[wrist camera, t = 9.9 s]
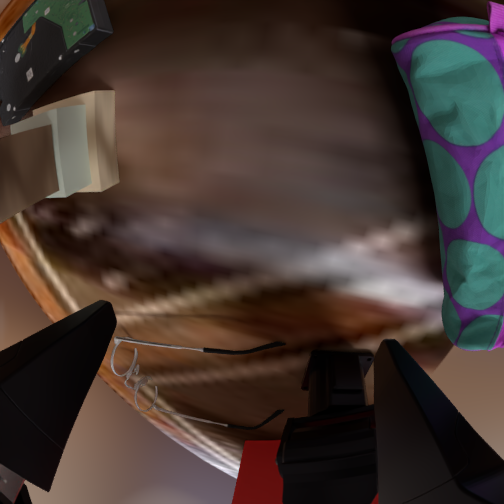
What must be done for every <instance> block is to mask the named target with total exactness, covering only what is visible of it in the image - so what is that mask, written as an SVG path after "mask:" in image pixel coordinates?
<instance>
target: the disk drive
mask: <svg viewBox="0 0 504 504" xmlns="http://www.w3.org/2000/svg"><path fill="white" fill-rule="evenodd" d="M112 33H113V28H112V25H111V22H110V19H109V16H108V12H107V9H106V6H105V2H104V0H35V1H34V2H33V3H32V4H31V5H30V6H29V7H28V8H27V10H26V11H25V12H24V13H23V14H22V16H21V17H20V18H19V19H18V20H17V21H16V23H15V24H14V25H13V26H12V28H11V29H10V30H9V31H8V33H7V34H6V35H5V37H4V38H3V40H2V41H1V42H0V100H1V101H2V104H1V107H0V116H1V121H2V124H3V126H6V125H11V124H14V123H17V122H19V121H20V120H21V118H22V117H23V116H24V115H25V114H26V113H27V112H28V111H29V109H30V108H31V106H32V105H33V104H34V103H35V102H36V101H37V100H38V99H39V98H40V96H41V95H42V94H43V93H44V92H45V91H46V90H47V89H48V88H49V87H50V86H51V85H52V84H53V83H54V82H55V81H56V80H57V79H58V78H59V77H60V76H61V75H62V74H63V73H64V72H66V71H67V70H68V69H69V68H70V67H71V66H72V65H73V64H74V63H76V62H77V61H78V60H79V59H80V58H81V57H83V56H84V55H85V54H87V53H88V52H90V51H91V50H92V49H93V48H95V47H96V45H98V44H99V43H100V42H102V41H103V40H104V39H106V38H107V37H108V36H110V35H111V34H112Z"/></svg>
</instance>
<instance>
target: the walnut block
mask: <svg viewBox="0 0 504 504" xmlns="http://www.w3.org/2000/svg"><path fill="white" fill-rule="evenodd" d="M57 191H59V185H58V179H57V173H56V166H55V158H54V149H53V139H52V127H51V125H46V126H42V127H38V128H34V129H30V130H27V131H23V132H19V133H16V134H13V135H9V136H6V137H3V138H0V223H2V222H4V221H5V220H7V219H8V218H10V217H12V216H13V215H15V214H17V213H19V212H20V211H22V210H24V209H26V208H27V207H29V206H31V205H33V204H34V203H36V202H38V201H40V200H42V199H44V198H46V197H48V196H50V195H51V194H53V193H55V192H57Z"/></svg>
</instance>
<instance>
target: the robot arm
mask: <svg viewBox="0 0 504 504" xmlns="http://www.w3.org/2000/svg"><path fill="white" fill-rule="evenodd" d="M116 325H117V319H116V316H115V313H114V310H113V307H112V304H111V303H110V302H108V301H104V300H99V301H97V302H95V303H93V304H91V305H89V306H87V307H85V308H83V309H81V310H79V311H77V312H75V313H73V314H71V315H69V316H67V317H65V318H64V319H62V320H60V321H58V322H56V323H54V324H52V325H50V326H48V327H46V328H44V329H42V330H41V331H39V332H37V333H35V334H33V335H31V336H29V337H27V338H25V339H24V340H23V341H20V342H18V343H16V344H14V345H12V346H10V347H8V348H6V349H4V350H2V351H0V504H32V502H31V499H30V496H29V492H28V489H27V486H26V485H25V484H24V481H25V480H27V481H29V482H30V483H32V484H34V485H36V486H37V487H39V488H41V489H43V490H45V491H47V492H49V491H50V489H51V486H52V482H53V480H54V476H55V474H56V471H57V468H58V465H59V462H60V459H61V456H62V454H63V450H64V448H65V446H66V443H67V440H68V438H69V435H70V433H71V430H72V428H73V425H74V423H75V420H76V418H77V416H78V413H79V411H80V409H81V407H82V404H83V402H84V399H85V398H86V395H87V393H88V391H89V389H90V387H91V384H92V382H93V380H94V378H95V376H96V374H97V372H98V370H99V368H100V366H101V363H102V361H103V359H104V356H105V354H106V351H107V348H108V346H109V343H110V341H111V338H112V335H113V333H114V330H115V328H116ZM315 355H316V356H315ZM373 361H374V404H372V405H368V402H367V394H366V386H365V379H364V378H365V376H366V374H367V372H368V370H369V368H370V366H371V364H372V363H373ZM301 389H302V390H306V391H309V398H308V417H301V418H288V420H287V423H286V425H285V428H284V431H283V435H282V438H281V441H280V445H279V448H278V451H277V455H276V459H275V463H276V464H277V465H278V471H279V474H280V476H281V477H282V479H283V495H282V503H283V504H371V503H372V502H373V500H374V499H375V497H376V495H377V494H378V504H504V460H503V459H502V458H501V457H500V456H499V455H498V454H497V453H496V452H495V451H494V450H493V449H492V448H491V447H490V446H489V445H488V444H487V443H486V442H485V441H484V439H482V437H481V436H480V435H479V434H478V433H477V432H476V431H475V430H474V429H473V428H472V426H471V425H470V424H469V423H468V422H467V421H466V419H465V418H464V417H463V416H462V415H461V413H460V412H458V410H457V409H456V407H455V406H454V405H453V404H452V403H451V402H450V400H449V399H448V398H447V397H446V395H445V394H444V393H443V392H442V391H441V390H440V389H439V387H438V386H437V385H436V384H435V383H434V381H433V380H432V379H431V378H430V377H429V376H428V375H427V373H426V372H425V371H424V370H423V369H422V368H421V367H420V366H419V364H418V363H417V362H416V361H415V360H414V359H413V358H412V357H411V356H410V354H409V353H408V352H407V351H406V350H405V349H404V348H403V347H402V346H401V345H400V343H399V342H398V341H397V340H395V339H384V340H383V341H382V342H381V344H380V346H379V348H378V351H377V353H376V355H375V357H374V355H373V354H371V353H348V352H330V351H312V352H311V354H310V357H309V361H308V364H307V368H306V371H305V375H304V378H303V381H302V385H301Z"/></svg>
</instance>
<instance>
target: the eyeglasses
mask: <svg viewBox="0 0 504 504" xmlns="http://www.w3.org/2000/svg"><path fill="white" fill-rule="evenodd" d="M129 338H130V337H118V336H115V338H114V340H115V341H114V342H115V344H116V345H115V347H114V349H113V351H112V355H111V368H112V370H113V372H114V373H115V374H116V375H118V374H117V373H116V372H115V370H114V367H113V357H114V353H115V350H116V348H117V346H118V345H119V343H120V342H121V341H126V342H132V343H139V344H146V345H153V346H161V347H169V348H177V349H181V348H184V349H193V350H199V351H202V352H207V353H219V354H231V355H238V354H248V353H253V352H257V351H260V350H264V349H269V348H273V347H278V346H282V345H286V343H282V342H273V343H269V344H266V345H263V346H260V347H256V348H253V349H250V350H244V351H232V350H223V349H213V348H190V347H182V346H179V345H171V344H163V343H155V342H148V341H142V340H135V339H132V338H130V339H129ZM137 357H138V352H137V349H136V348H135V355H134V359H133V362H132V365H131V367H130V368H129V370H128V371H127V372H126V373H124V374H122V375H118V376H125V375H127V376H126V378H127V379H126V381H127V380H128V379H129V376H130V375H131V374H132V373H135V372H136V375H138V372H139V365H137V366H136V368H135V369H134V367H135V364H136V361H137ZM133 369H134V370H135V372H132V371H133ZM150 378H151V377H150V376H145V377H142V378H141V379H140V380H139V381H138V382H137V383H135V384H134V388H132V387H130V386H128V385H127V384H126V381H125V385H126V386H127V387H128V388H131V389H134V390H136V391H135V404H136V406H137V408H138V409H139V410H141V409H140V408H139V406H138V404H137V391H138V388H139V386H140V387H142V386H144V385H145V384H146V383H147V381H148V380H147V379H150ZM150 380H152V379H150ZM141 384H142V386H141ZM136 387H137V388H136ZM155 388H156V396H155V400H154V402H153V404H152V406H151V407H150V408H149V409H147V410H141V411H144V412H146V411H149V410H150V409H152V407H153V408H155V409H156V410H159V411H163V412H166V413H170V414H174V415H177V416H181V417H185V418H189V419H194V420H198V421H203V422H207V423H215V422H211V421H208V420H204V419H199V418H195V417H191V416H187V415H183V414H179V413H176V412H172V411H168V410H165V409H162V408H159V407H157V406H156V405H155V403H156V400H157V395H158V389H157V386H155ZM283 411H284V410H277V411H276V412H275V413H273V414H272V415H271V416H270V417H269V418H267V419H266V420H265V421H264V422H262V423H261V424H259V425H257V426H254V427H245V426H237V425H230V424H220V423H215V424H220V425H224V426H226V427H230V428H238V429H246V430H250V429H257V428H259V427H261V426H263V425H264V424H266V423H268V422H269V421H271V420H272V419H274V418H275V417H277V416H278V415H279V414H281V413H282V412H283Z"/></svg>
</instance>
